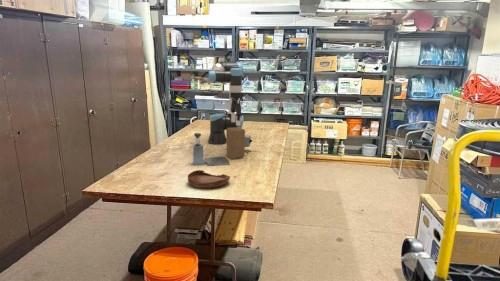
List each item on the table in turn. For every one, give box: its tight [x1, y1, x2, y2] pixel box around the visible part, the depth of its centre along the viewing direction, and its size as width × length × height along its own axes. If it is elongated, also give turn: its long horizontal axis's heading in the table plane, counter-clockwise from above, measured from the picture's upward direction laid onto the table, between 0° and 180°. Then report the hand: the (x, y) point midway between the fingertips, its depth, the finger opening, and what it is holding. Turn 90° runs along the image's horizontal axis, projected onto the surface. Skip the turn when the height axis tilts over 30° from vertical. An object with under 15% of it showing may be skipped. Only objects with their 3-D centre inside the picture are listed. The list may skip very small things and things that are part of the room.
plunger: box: [194, 132, 202, 146], centre depth 214 cm, size 4×4×10 cm
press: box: [192, 143, 230, 167], centre depth 218 cm, size 14×22×12 cm, turn 106°
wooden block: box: [225, 127, 246, 160], centre depth 231 cm, size 10×10×20 cm
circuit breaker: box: [245, 134, 253, 148], centre depth 249 cm, size 8×14×15 cm, turn 78°
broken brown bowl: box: [187, 169, 231, 189], centre depth 181 cm, size 22×20×5 cm
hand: (235, 123), depth 228 cm, fingers open, 13 cm apart
